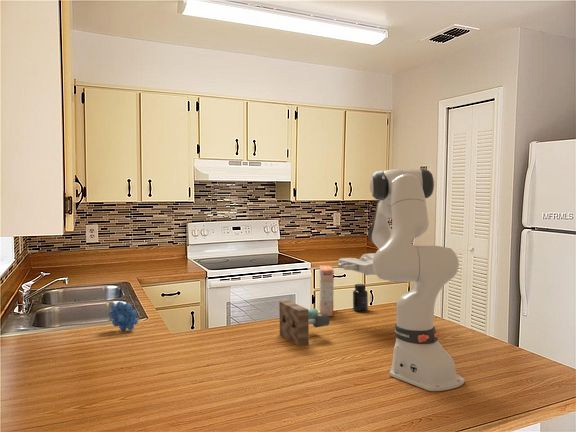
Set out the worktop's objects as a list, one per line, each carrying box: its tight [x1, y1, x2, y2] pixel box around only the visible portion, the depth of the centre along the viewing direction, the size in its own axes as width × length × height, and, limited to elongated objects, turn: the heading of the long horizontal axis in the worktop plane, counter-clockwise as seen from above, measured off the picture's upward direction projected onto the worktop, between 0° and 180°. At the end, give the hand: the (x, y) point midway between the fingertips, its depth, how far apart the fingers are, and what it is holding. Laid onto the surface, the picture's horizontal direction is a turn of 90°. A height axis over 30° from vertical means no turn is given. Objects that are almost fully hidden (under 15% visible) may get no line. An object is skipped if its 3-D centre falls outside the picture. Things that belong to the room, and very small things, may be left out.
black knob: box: [295, 313, 330, 328], centre depth 176 cm, size 5×13×5 cm, turn 117°
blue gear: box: [108, 301, 139, 332], centre depth 189 cm, size 12×7×12 cm, turn 91°
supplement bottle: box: [352, 283, 369, 313], centre depth 219 cm, size 7×7×12 cm
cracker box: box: [319, 265, 335, 317], centre depth 215 cm, size 14×6×21 cm, turn 179°
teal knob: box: [285, 308, 319, 320], centre depth 183 cm, size 5×13×5 cm, turn 117°
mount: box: [278, 300, 310, 347], centre depth 177 cm, size 16×4×13 cm, turn 27°
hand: (341, 267), depth 190 cm, fingers open, 3 cm apart
